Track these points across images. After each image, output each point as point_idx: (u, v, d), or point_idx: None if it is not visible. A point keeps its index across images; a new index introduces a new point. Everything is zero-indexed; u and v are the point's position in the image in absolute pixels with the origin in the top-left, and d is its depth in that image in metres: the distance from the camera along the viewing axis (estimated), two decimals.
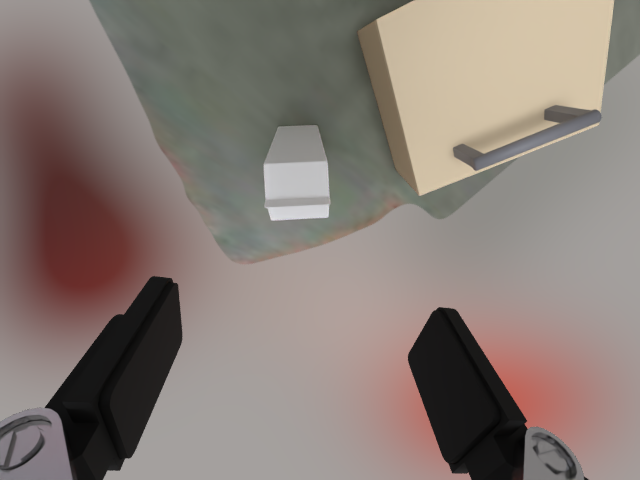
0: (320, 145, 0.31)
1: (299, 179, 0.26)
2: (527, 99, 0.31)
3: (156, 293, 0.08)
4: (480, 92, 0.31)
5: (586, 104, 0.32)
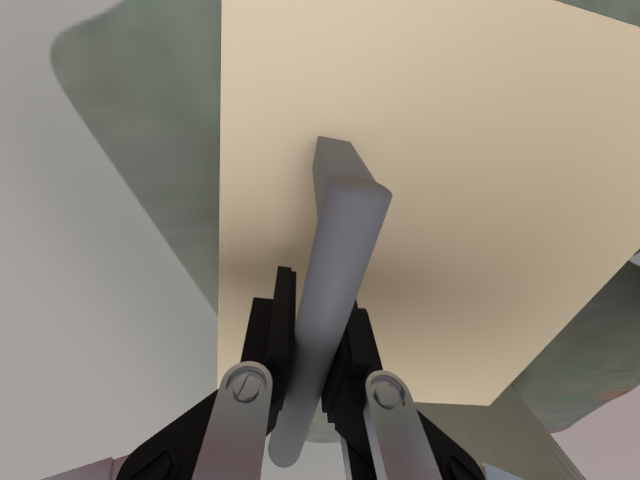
0: None
1: None
2: None
3: (288, 279, 0.10)
4: (429, 244, 0.13)
5: None
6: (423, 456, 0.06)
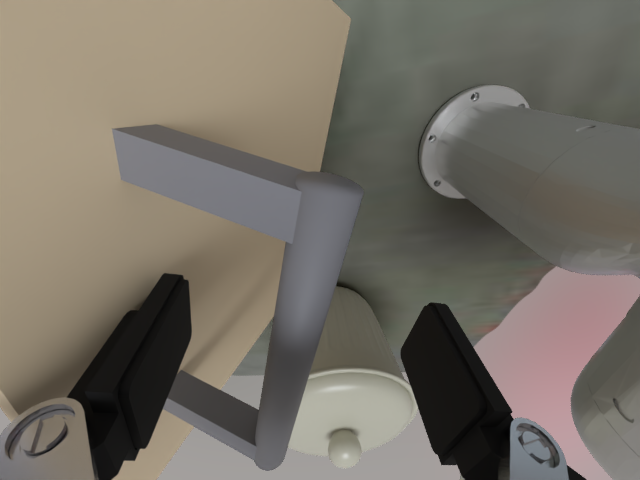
0: None
1: None
2: (209, 313, 0.13)
3: (169, 289, 0.08)
4: None
5: (164, 449, 0.14)
6: None
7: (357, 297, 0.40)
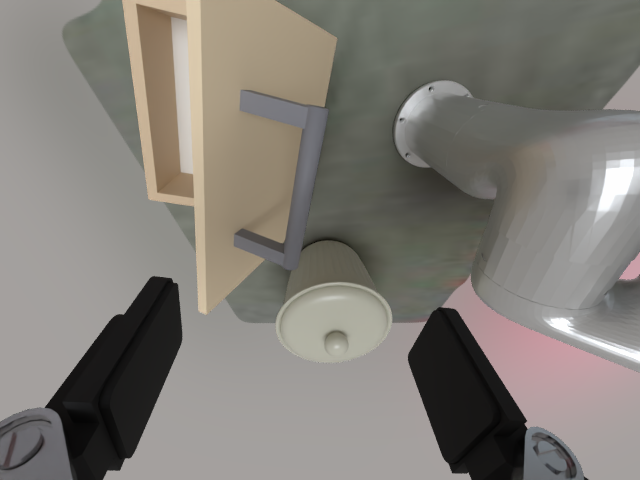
0: None
1: None
2: (256, 201, 0.24)
3: (156, 293, 0.08)
4: (278, 139, 0.24)
5: (230, 279, 0.25)
6: None
7: (348, 248, 0.51)
